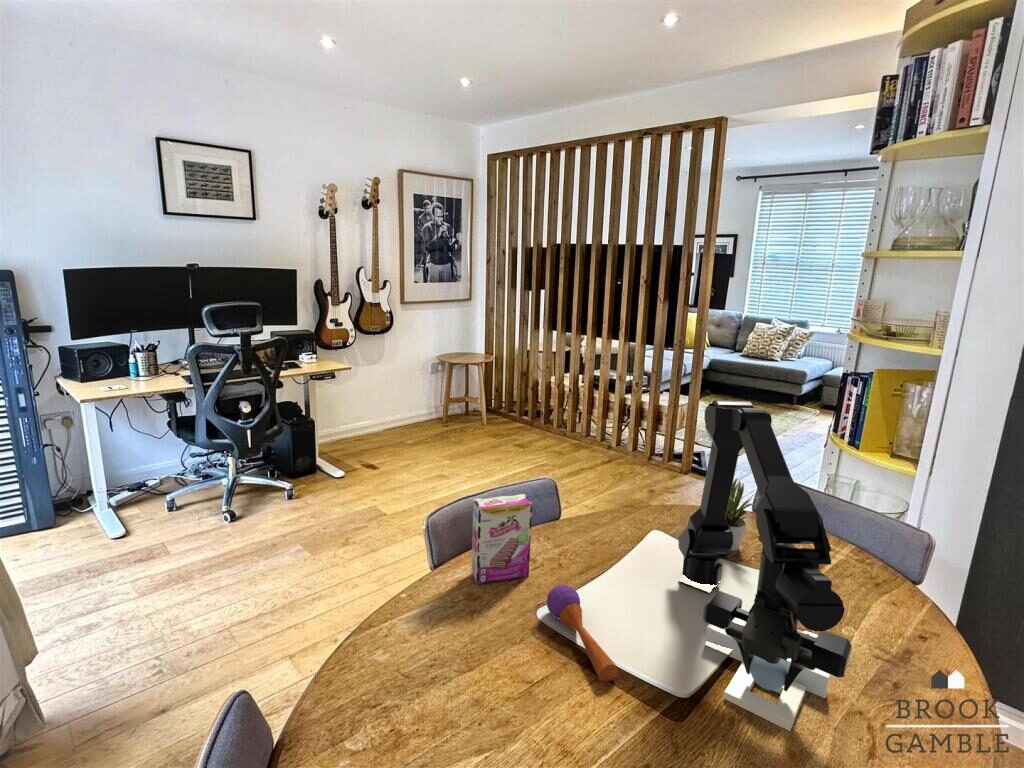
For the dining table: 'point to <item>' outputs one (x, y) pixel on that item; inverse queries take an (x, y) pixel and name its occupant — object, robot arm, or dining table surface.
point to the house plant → (735, 521)
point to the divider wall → (811, 679)
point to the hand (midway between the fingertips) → (766, 680)
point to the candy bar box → (501, 538)
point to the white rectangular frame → (762, 707)
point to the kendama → (580, 628)
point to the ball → (768, 673)
